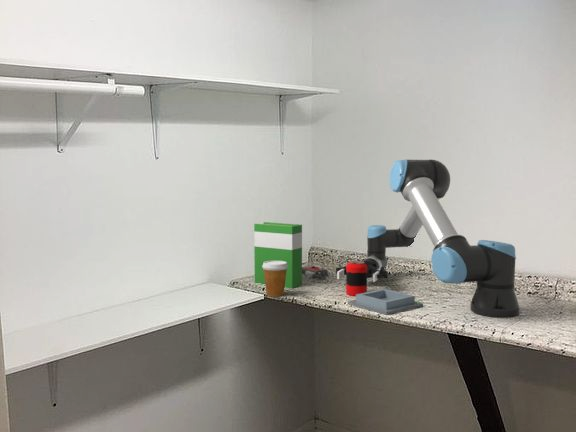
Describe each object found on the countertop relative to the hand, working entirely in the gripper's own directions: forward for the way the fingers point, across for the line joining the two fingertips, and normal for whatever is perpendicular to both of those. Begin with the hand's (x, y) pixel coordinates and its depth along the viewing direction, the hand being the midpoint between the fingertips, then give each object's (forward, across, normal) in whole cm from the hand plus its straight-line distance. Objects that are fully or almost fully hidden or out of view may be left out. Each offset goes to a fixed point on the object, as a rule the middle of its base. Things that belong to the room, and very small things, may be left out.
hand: (355, 276), depth 224 cm
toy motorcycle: (-26, +24, -7) cm, 36 cm away
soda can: (0, 0, -7) cm, 7 cm away
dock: (+12, -14, -6) cm, 20 cm away
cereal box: (-5, +33, -7) cm, 34 cm away
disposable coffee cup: (+12, +27, -7) cm, 30 cm away
